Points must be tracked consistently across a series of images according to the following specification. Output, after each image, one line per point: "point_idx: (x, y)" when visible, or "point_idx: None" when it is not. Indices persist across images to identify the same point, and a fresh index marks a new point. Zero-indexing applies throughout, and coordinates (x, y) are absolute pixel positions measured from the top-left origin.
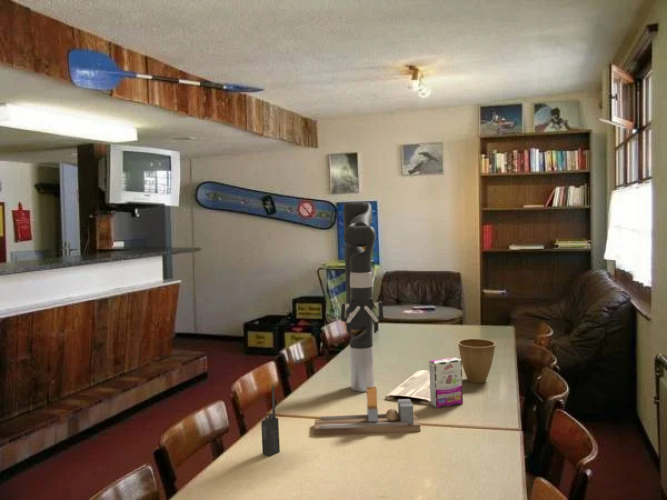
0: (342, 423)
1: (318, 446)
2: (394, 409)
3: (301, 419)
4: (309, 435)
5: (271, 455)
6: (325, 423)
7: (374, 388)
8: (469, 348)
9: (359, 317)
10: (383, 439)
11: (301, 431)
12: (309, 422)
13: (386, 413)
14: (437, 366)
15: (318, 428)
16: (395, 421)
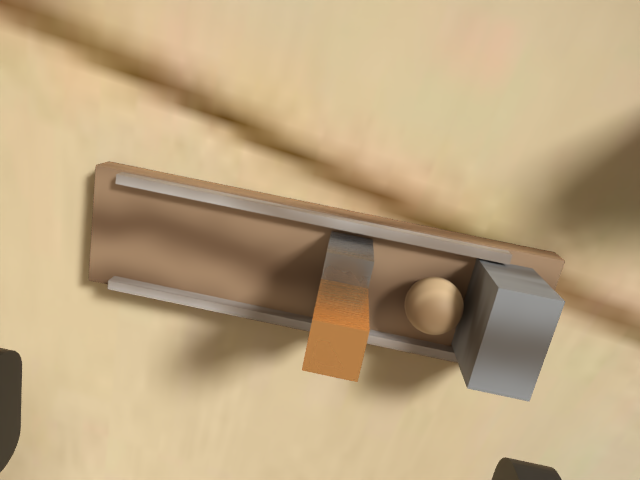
0: (210, 255)
1: (108, 370)
2: (451, 316)
3: (52, 67)
4: (81, 265)
5: None
6: (138, 232)
7: (349, 366)
8: None
9: None
10: (348, 385)
11: (51, 215)
12: (87, 120)
13: (407, 308)
14: None
15: (104, 278)
16: None
